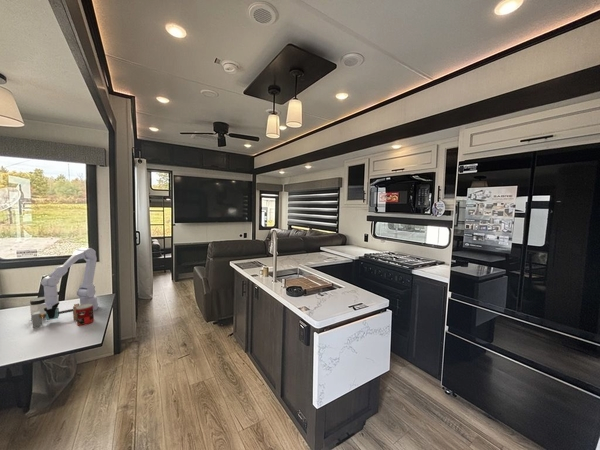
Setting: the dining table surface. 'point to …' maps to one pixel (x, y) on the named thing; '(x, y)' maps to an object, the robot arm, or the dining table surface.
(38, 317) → the rod peg assembly
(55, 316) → the sleeve
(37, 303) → the jar
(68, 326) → the dining table surface
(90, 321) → the canned food
